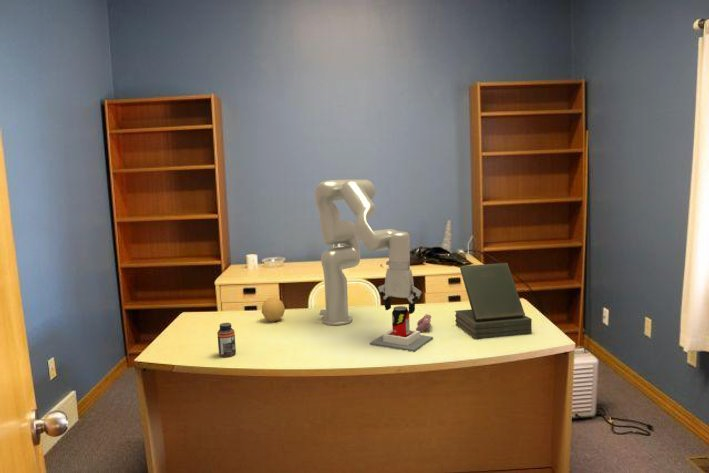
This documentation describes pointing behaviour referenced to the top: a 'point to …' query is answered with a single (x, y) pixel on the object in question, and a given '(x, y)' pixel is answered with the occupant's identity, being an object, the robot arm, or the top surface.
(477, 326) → the dark grey slab stack
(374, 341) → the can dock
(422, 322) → the video game controller
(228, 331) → the supplement bottle
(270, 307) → the stress ball
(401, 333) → the beverage can
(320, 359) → the top surface
